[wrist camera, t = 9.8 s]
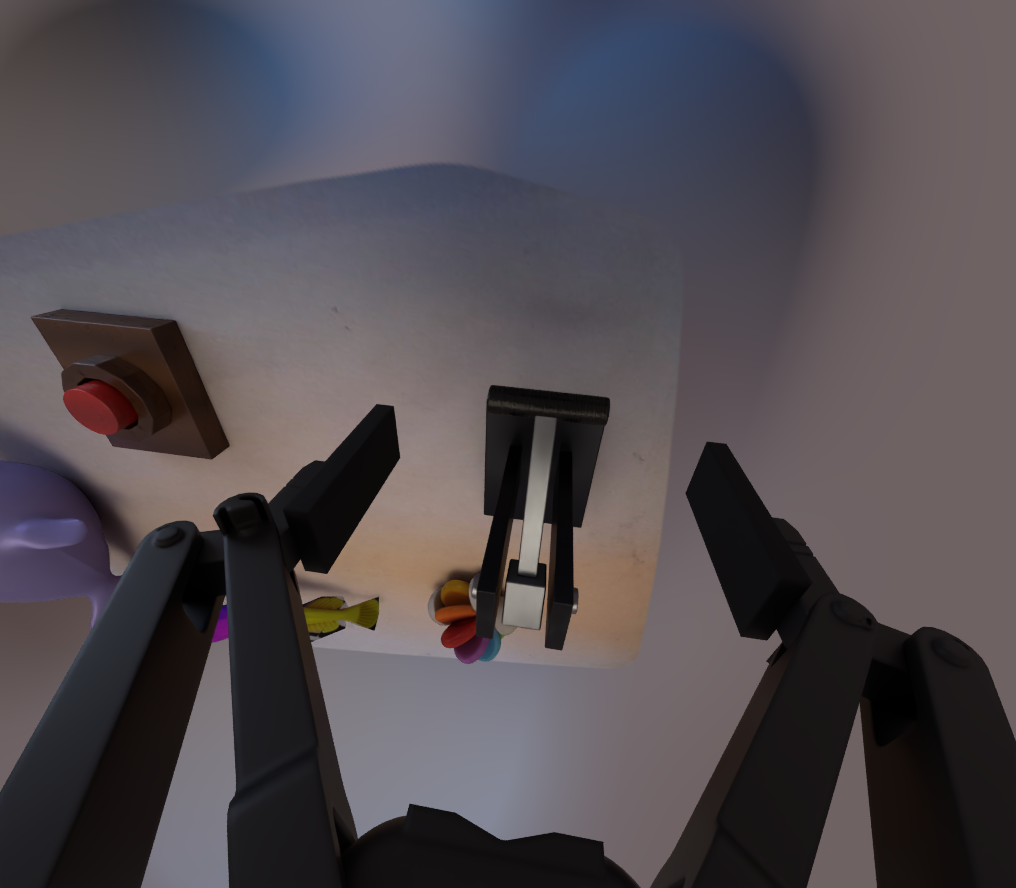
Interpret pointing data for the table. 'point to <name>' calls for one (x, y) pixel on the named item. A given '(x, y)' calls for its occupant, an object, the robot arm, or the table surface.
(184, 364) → the button block
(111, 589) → the toy whale
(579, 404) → the t-handle lever
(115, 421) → the button
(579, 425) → the bracket
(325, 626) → the toy
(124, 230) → the table surface
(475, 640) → the fanned rainbow disc cluster
